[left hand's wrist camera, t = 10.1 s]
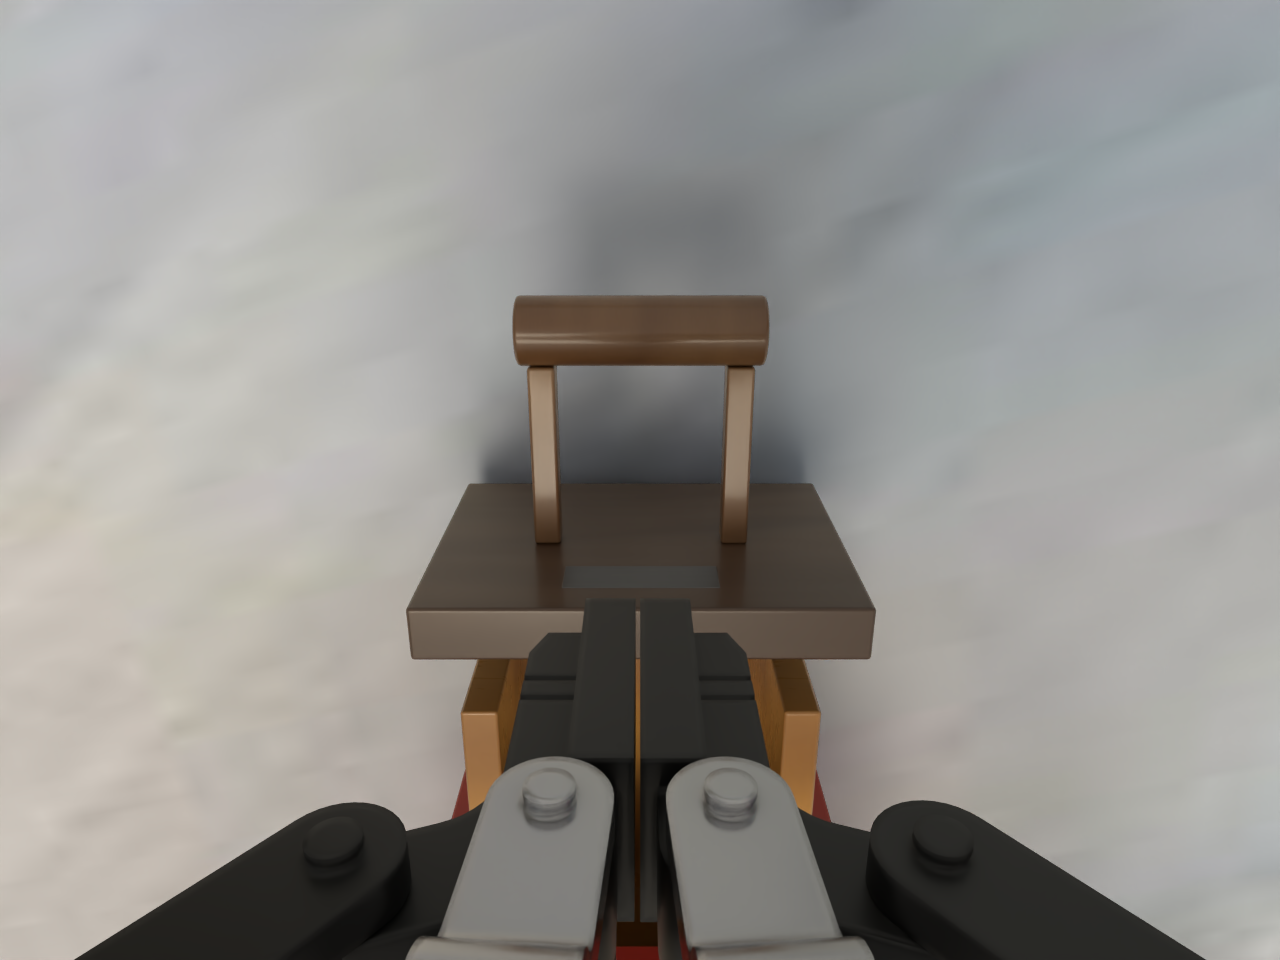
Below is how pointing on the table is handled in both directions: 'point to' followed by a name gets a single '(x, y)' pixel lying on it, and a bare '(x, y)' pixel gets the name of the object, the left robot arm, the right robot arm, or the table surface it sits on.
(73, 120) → the table surface
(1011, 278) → the table surface
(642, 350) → the drawer
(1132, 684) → the table surface
